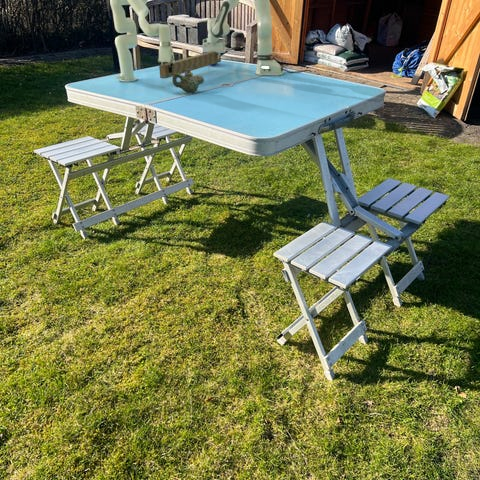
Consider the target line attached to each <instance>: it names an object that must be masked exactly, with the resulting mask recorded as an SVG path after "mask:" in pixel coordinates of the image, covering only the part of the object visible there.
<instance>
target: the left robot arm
mask: <svg viewBox="0 0 480 480" xmlns="http://www.w3.org/2000/svg"><path fill="white" fill-rule="evenodd" d="M147 3H148V0H109V4H110V9H111V11H112V17H113V23H114V29H115V31H116V32H117V33H119V34H120V35H118V36H115V40H114V44H115V48H116V52H117V56H118V62H119V67H120V68H119V69H120V74H119V75H115V76H114V78H115V79H117V80H119V81H120V82H123V83H126V82H128V83H130V82H135V81H137V79H138V78H137V77H135V71H134V63H133V57H132V56H133V55H132V53H131V51H130V49H134V48H136V47H138V43H139V39H138V31H137V25H136V22H135V20H134V19H133V18H131V17H126V10H125V9H124V7H123V6H130V7H131V9H132V10H133V11H134V13H135V14H136V15H137V18H138V24H139V27H140V29H141V30H142V32H143V33H144V34H145V35H146V36H147V37H157V36H158V41H159V46H158V59H157V62H158V63H159V65H162V64H166V63H168V64H169V73H172V66H173V65H174V63H175V62H176V61H177V60H175V54H174V49H173V43H172V42H171V31H170V25H169V24H162V23H159V22H158V23H149V22H148V21H147V19H146V17H147V16H148V15H149V12H150V10H149V7H148V6H147V5H146V4H147ZM125 33H126V34H125Z"/></svg>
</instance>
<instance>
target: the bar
mask: <svg viewBox="0 0 480 480" xmlns="http://www.w3.org/2000/svg"><path fill="white" fill-rule="evenodd" d="M217 56H218V53H216V52H208V53H204V54H202V53H200V54H197V55H193V56H189V57H185V58H181V59H178V60H175V61H176V62H175V63H174V65H173V66H172V73H169V64H168V62H165V64H162V65H161V64H159V65H158V69H159V78H160V79H165V80H166V79H169V78H173V75H174V73H179V74H181V75H183V74H185V72H187V69H190V72H192V71H195V70H198V69H202V68H205V67H209V66H211V65H212V64H215V63H216V64H218V63H221V62H222V56H221V53H220V56H219V59H217ZM216 64H215V65H216Z"/></svg>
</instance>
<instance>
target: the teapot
mask: <svg viewBox="0 0 480 480" xmlns="http://www.w3.org/2000/svg"><path fill="white" fill-rule="evenodd" d="M177 79H179V80H180V81H177ZM204 82H205V79H204V77H203V75H200V74H196V75H194V73H193V72H192V71H190V69H187V72H185V73H184V75H183V74H179V73H174V75H173V77H172V84H173V86H174V87H176V88H179V89H181V90H182V91H184V92H186V93H188V94H193V93H195V92H197V91H198V89H199V86H200V85H201V84H203V83H204Z"/></svg>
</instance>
